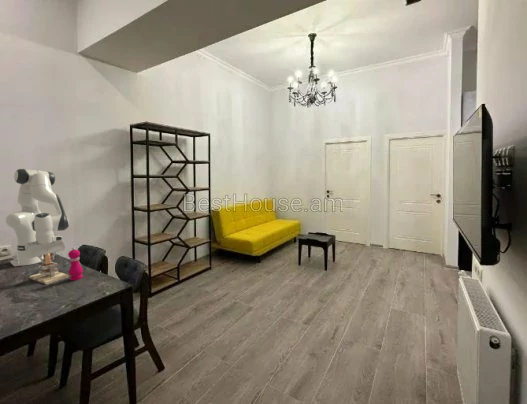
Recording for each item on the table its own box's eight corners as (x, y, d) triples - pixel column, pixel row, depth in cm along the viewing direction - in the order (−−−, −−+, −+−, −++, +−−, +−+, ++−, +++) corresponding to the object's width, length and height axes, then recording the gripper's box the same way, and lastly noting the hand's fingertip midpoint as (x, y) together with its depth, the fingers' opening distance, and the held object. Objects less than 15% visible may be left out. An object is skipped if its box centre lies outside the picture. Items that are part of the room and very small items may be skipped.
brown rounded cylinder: (47, 274, 165) (44, 249, 163) (43, 273, 167) (41, 249, 165) (53, 272, 168) (51, 248, 166) (50, 271, 170) (47, 247, 168)
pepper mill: (76, 281, 162) (73, 249, 160) (66, 280, 163) (63, 248, 161) (86, 276, 169) (83, 246, 167) (76, 275, 170) (73, 245, 168)
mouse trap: (30, 278, 167) (28, 264, 166) (52, 271, 178) (50, 258, 177) (46, 284, 158) (44, 269, 157) (68, 277, 169) (67, 263, 167)
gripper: (26, 244, 154) (29, 267, 156) (66, 236, 172) (68, 256, 174) (21, 242, 157) (24, 265, 159) (60, 235, 175) (62, 255, 177)
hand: (47, 260), depth 167 cm, fingers closed on brown rounded cylinder, 4 cm apart
